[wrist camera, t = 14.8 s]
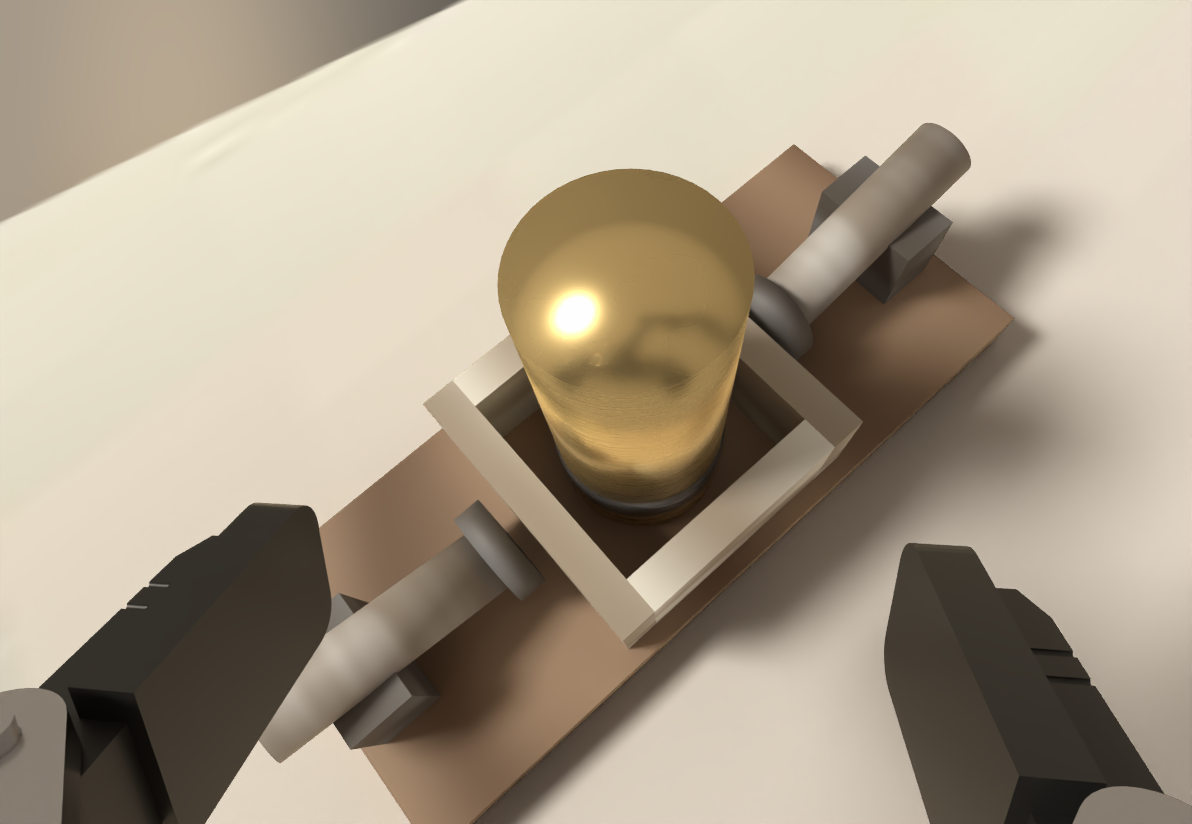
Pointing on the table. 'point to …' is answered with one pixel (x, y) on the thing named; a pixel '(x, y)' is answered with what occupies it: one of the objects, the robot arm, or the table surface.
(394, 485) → the shaft rig
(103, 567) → the table surface
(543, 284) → the ball
